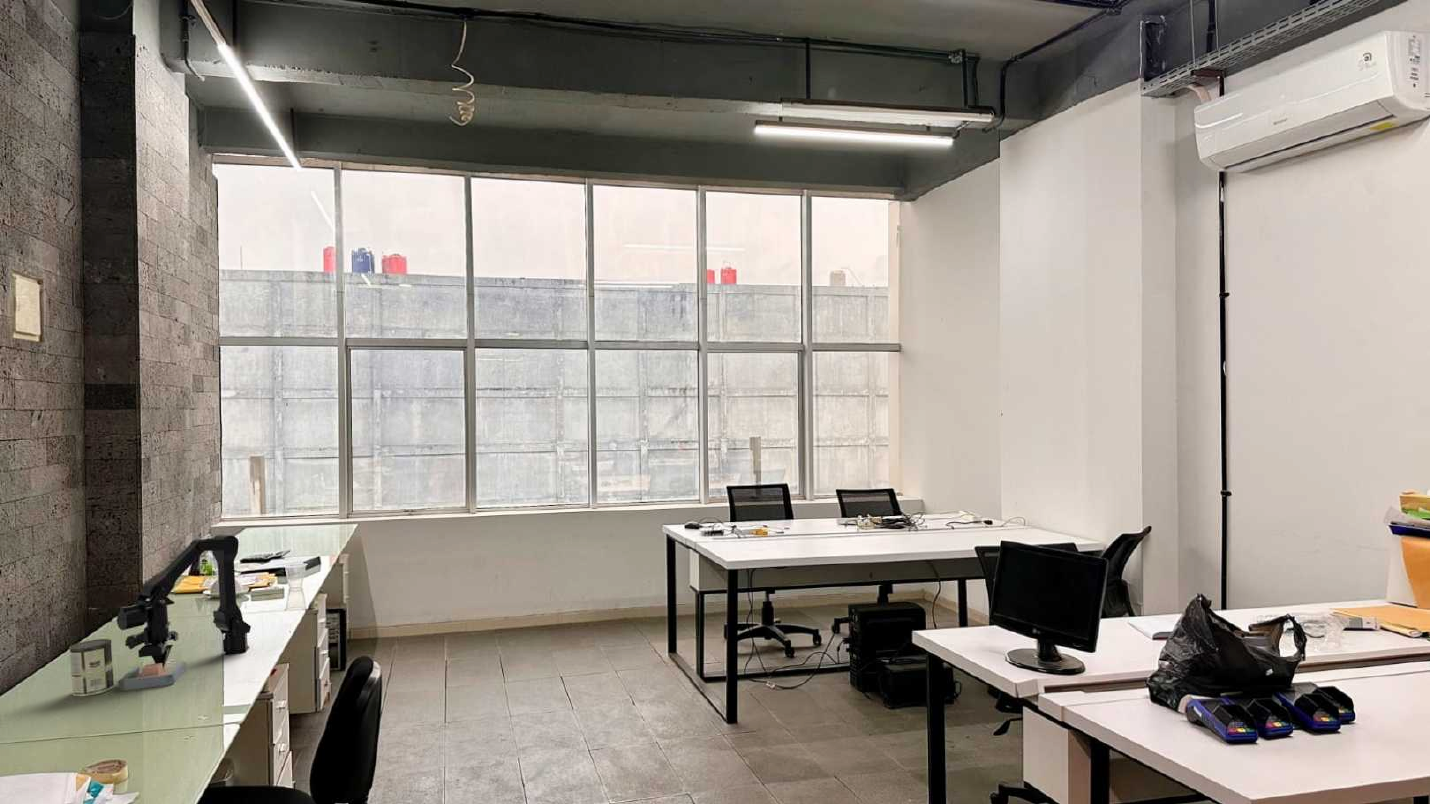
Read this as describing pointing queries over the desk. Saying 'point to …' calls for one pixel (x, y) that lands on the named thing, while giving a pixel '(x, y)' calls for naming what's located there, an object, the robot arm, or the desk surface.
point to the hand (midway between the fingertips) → (160, 670)
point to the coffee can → (91, 667)
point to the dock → (150, 678)
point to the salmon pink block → (152, 669)
